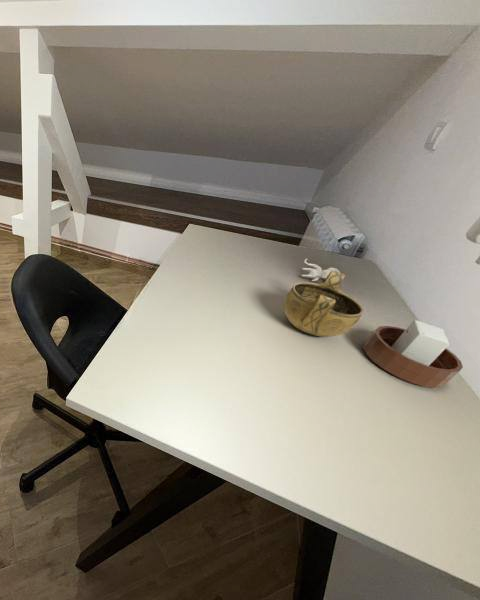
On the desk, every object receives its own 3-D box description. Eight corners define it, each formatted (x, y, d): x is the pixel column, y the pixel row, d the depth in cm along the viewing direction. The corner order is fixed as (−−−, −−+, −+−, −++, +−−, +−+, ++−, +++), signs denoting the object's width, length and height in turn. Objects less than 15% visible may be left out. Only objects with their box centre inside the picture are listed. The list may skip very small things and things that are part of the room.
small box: (418, 376, 77) (451, 344, 71) (390, 365, 79) (419, 333, 73) (414, 359, 82) (443, 328, 76) (387, 349, 85) (414, 318, 79)
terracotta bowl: (424, 355, 85) (440, 338, 82) (458, 399, 72) (479, 381, 69) (354, 335, 90) (366, 319, 86) (374, 373, 77) (389, 356, 73)
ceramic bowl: (284, 301, 102) (307, 260, 94) (345, 325, 94) (376, 283, 85) (266, 330, 88) (291, 285, 80) (336, 362, 79) (372, 315, 71)
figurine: (305, 256, 116) (346, 260, 110) (302, 261, 124) (340, 264, 118) (301, 278, 116) (341, 283, 110) (298, 281, 124) (336, 285, 118)
